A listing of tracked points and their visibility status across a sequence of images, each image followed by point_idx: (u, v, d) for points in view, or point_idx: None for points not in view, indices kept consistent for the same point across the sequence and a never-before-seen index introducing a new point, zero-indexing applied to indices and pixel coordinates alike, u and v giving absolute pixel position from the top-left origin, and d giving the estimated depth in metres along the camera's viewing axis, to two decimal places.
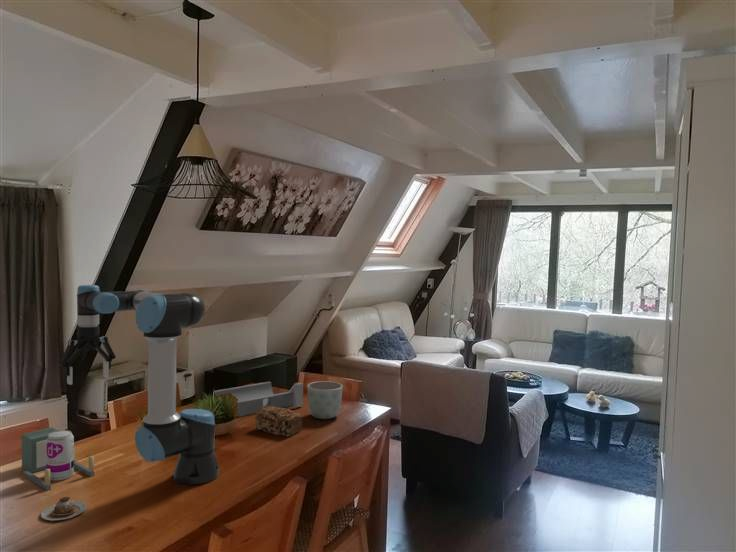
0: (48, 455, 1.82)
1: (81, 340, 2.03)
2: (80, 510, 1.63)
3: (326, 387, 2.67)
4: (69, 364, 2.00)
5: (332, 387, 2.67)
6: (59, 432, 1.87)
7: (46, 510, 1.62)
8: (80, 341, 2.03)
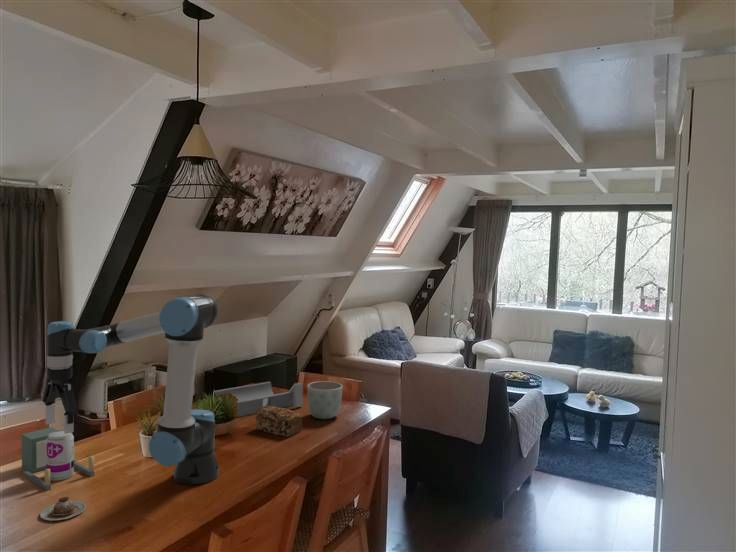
0: (48, 455, 1.83)
1: (52, 380, 1.86)
2: (79, 510, 1.63)
3: (326, 387, 2.67)
4: (45, 402, 1.89)
5: (332, 387, 2.67)
6: (59, 432, 1.87)
7: (45, 510, 1.62)
8: (51, 381, 1.86)
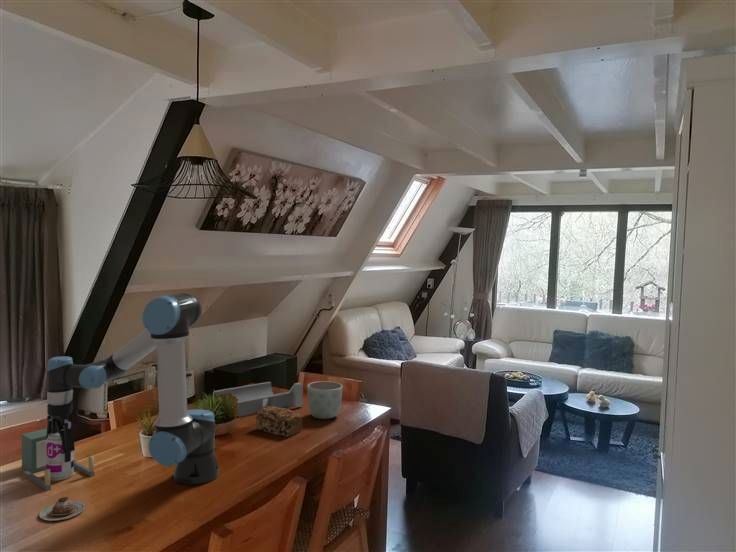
0: (48, 455, 1.82)
1: (52, 415, 1.86)
2: (78, 510, 1.63)
3: (326, 387, 2.67)
4: None
5: (332, 387, 2.67)
6: None
7: (44, 510, 1.62)
8: (52, 417, 1.87)
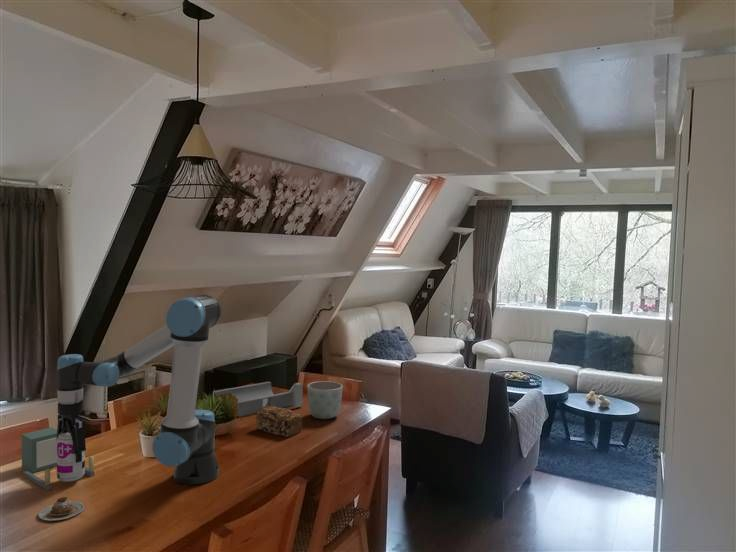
0: (58, 455, 1.78)
1: (62, 415, 1.82)
2: (78, 510, 1.63)
3: (326, 387, 2.67)
4: None
5: (332, 387, 2.67)
6: None
7: (44, 510, 1.62)
8: (62, 416, 1.82)
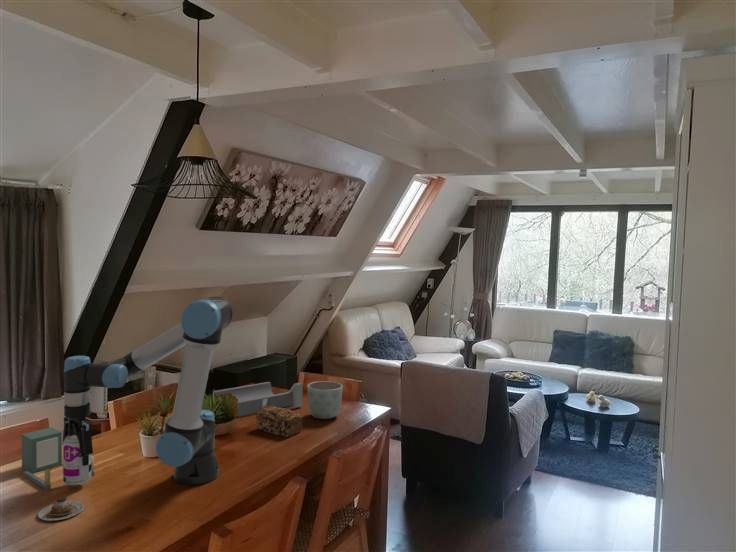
0: (65, 458, 1.75)
1: (69, 417, 1.79)
2: (77, 510, 1.63)
3: (326, 387, 2.67)
4: None
5: (332, 387, 2.67)
6: None
7: (43, 510, 1.62)
8: (68, 418, 1.79)
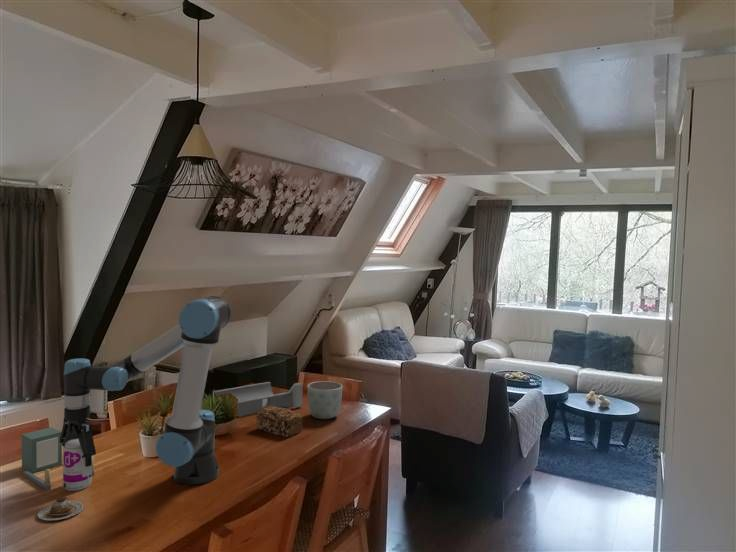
0: (65, 464, 1.75)
1: (69, 420, 1.79)
2: (77, 510, 1.63)
3: (326, 387, 2.67)
4: (63, 443, 1.82)
5: (332, 387, 2.67)
6: (76, 440, 1.80)
7: (43, 510, 1.62)
8: (68, 421, 1.79)
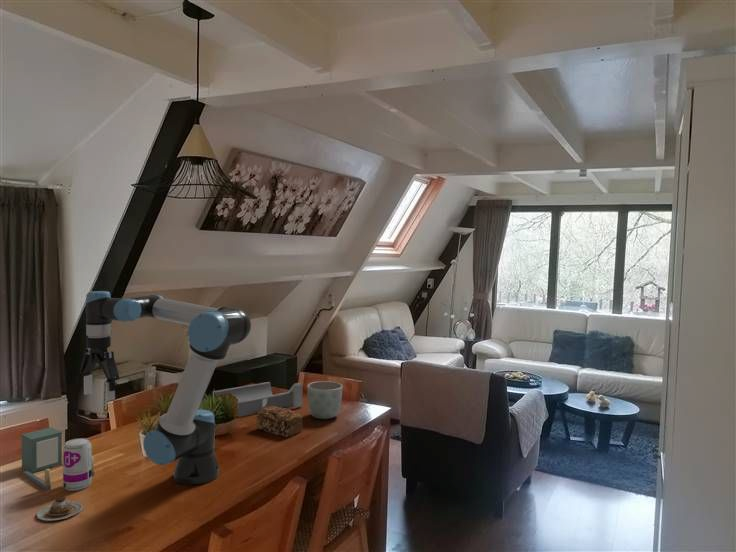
0: (65, 464, 1.75)
1: (90, 350, 1.87)
2: (76, 510, 1.63)
3: (326, 387, 2.67)
4: (83, 372, 1.90)
5: (332, 387, 2.67)
6: (76, 440, 1.80)
7: (42, 510, 1.62)
8: (90, 351, 1.87)
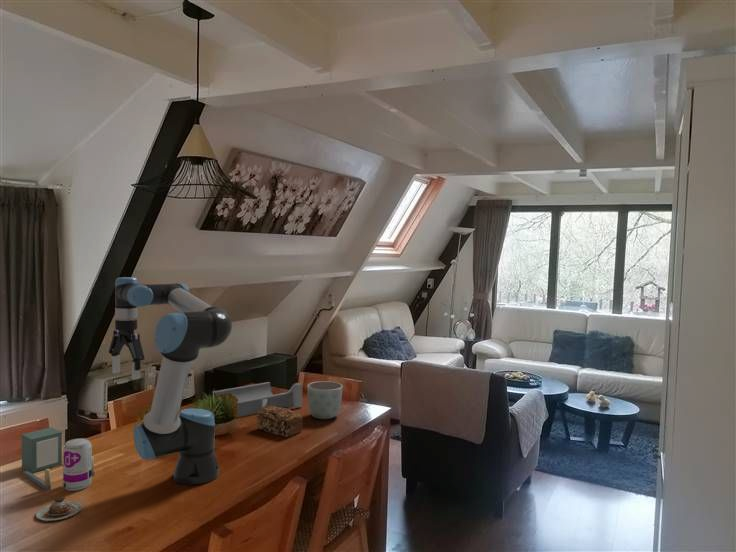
0: (65, 464, 1.75)
1: (118, 332, 2.01)
2: (75, 510, 1.63)
3: (326, 387, 2.67)
4: (112, 353, 2.04)
5: (332, 387, 2.67)
6: (76, 440, 1.80)
7: (41, 510, 1.62)
8: (118, 333, 2.01)
